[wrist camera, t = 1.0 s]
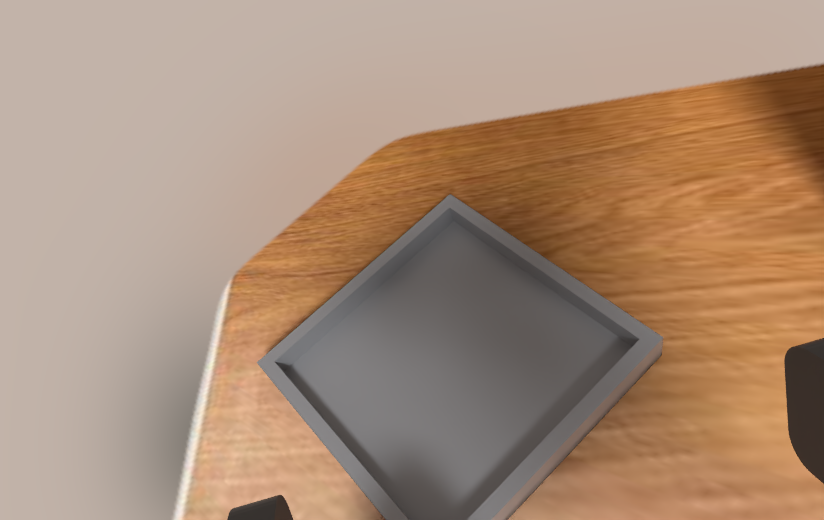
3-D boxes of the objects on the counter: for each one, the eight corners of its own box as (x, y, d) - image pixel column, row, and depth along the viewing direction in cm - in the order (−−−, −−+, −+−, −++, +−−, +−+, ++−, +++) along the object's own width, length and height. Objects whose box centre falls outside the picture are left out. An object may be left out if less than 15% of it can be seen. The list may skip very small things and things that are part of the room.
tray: (456, 213, 43) (450, 194, 41) (661, 355, 34) (663, 337, 32) (271, 376, 39) (256, 362, 38) (444, 586, 30) (434, 579, 28)
